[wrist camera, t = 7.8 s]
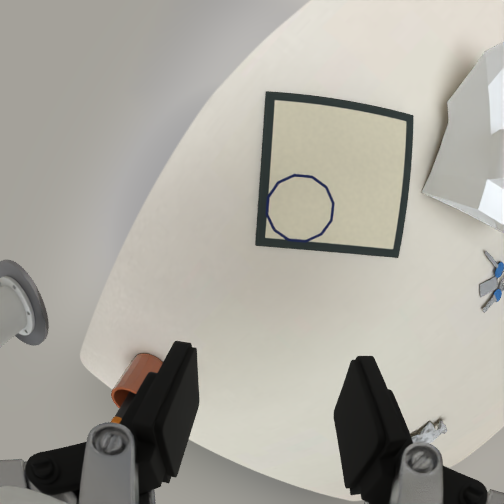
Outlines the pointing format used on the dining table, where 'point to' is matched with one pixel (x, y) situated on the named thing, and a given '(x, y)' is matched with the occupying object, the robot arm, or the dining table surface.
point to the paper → (430, 433)
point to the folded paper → (474, 145)
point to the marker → (123, 408)
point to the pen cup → (134, 376)
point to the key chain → (492, 283)
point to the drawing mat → (333, 175)
